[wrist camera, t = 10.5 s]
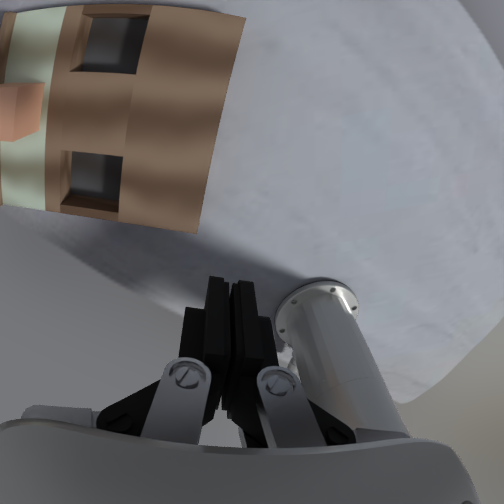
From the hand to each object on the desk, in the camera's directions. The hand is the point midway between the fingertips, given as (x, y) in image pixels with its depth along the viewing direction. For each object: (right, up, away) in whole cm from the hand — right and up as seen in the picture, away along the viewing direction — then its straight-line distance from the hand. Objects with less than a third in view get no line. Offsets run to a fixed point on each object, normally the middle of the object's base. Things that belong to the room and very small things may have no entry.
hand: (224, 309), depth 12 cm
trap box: (-14, +17, +16) cm, 27 cm away
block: (-22, +17, +11) cm, 30 cm away
